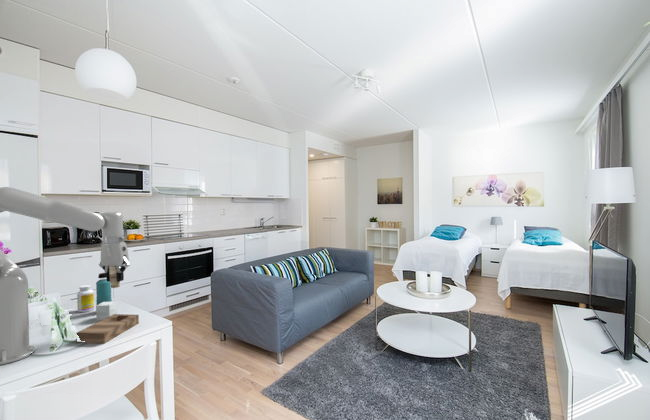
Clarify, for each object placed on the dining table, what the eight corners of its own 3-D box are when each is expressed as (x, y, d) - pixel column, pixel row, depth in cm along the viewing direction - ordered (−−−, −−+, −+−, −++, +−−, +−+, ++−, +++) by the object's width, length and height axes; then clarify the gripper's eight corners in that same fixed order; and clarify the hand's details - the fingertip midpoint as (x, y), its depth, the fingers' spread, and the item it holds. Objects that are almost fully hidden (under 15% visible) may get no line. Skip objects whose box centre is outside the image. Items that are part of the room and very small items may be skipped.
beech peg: (116, 288, 131) (115, 265, 131) (107, 288, 132) (106, 265, 131) (123, 285, 136) (122, 263, 135) (114, 285, 136) (113, 263, 135)
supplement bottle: (97, 308, 160) (96, 284, 159) (84, 313, 153) (83, 288, 153) (87, 307, 161) (86, 283, 161) (74, 312, 155) (73, 287, 154)
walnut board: (104, 343, 121) (104, 333, 120) (76, 342, 121) (76, 332, 121) (138, 323, 141) (138, 314, 140) (114, 322, 141) (114, 314, 141)
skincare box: (116, 315, 150) (116, 300, 150) (109, 320, 144) (109, 305, 144) (103, 316, 150) (103, 301, 149) (96, 320, 143) (95, 305, 143)
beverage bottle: (103, 314, 152) (102, 275, 151) (92, 313, 153) (92, 274, 152) (115, 309, 158) (114, 272, 157) (104, 308, 159) (103, 271, 159)
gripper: (137, 238, 136) (138, 278, 137) (102, 238, 137) (104, 278, 138) (124, 241, 128) (126, 283, 129) (88, 241, 130) (90, 283, 131)
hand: (115, 280), depth 134 cm, fingers closed on beech peg, 4 cm apart
